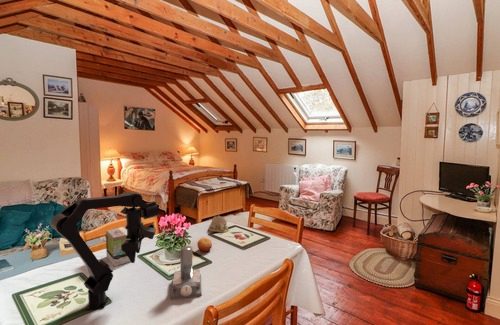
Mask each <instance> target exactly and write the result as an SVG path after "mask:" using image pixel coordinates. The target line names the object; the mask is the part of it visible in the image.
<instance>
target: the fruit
mask: <svg viewBox="0 0 500 325" xmlns="http://www.w3.org/2000/svg"><path fill="white" fill-rule="evenodd" d="M212 245H213V243H212V240H210V238H208V237H201V238H200V239H199V240H198V241H197V251H198V250H199V251H200V252H202V253H206V252H207V251H210V250H211V249H212V247H213V246H212Z"/></svg>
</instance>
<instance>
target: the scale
mask: <svg viewBox="0 0 500 325" xmlns="http://www.w3.org/2000/svg"><path fill="white" fill-rule="evenodd" d="M173 280H174V278H173V279H172V281H173ZM192 297H202V275H201V273H200V288H196V282H189V283H179V284H176V290H173V284H172V287H171V293H170V299H171V300H174V299H175V300H176V299H183V298H184V299H185V298H192Z"/></svg>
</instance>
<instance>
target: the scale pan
mask: <svg viewBox="0 0 500 325" xmlns="http://www.w3.org/2000/svg"><path fill="white" fill-rule="evenodd" d="M200 271H201V270H200V268H199V269H198V268H197V269H192V278H190V279H181V270H176V271H175V270H174V272H173V273H174V274H173V279H174V280H173V279H172V285H173V290H176V284H179V283H189V282H196V288H200V274H201V272H200Z"/></svg>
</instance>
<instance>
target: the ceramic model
mask: <svg viewBox="0 0 500 325" xmlns="http://www.w3.org/2000/svg"><path fill="white" fill-rule="evenodd" d="M227 223H228V220H227V218H225V217H224V216H220V215H217V216H213V218H212V219H211V223H210V224H209V226H208V231H209V232H218V233H225V232H229V231H230V229H229V228H228V225H227Z"/></svg>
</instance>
